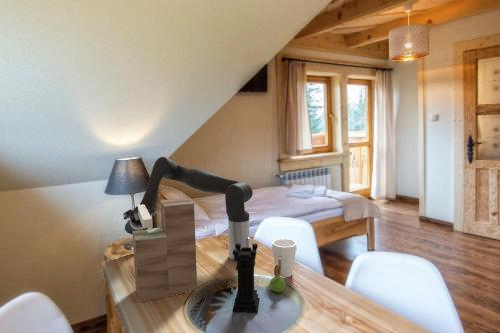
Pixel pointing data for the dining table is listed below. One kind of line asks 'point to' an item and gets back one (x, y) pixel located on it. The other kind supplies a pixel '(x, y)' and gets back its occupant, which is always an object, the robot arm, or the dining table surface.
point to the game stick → (144, 216)
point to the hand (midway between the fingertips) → (142, 208)
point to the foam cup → (284, 255)
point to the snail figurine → (277, 278)
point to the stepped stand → (167, 253)
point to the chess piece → (245, 280)
